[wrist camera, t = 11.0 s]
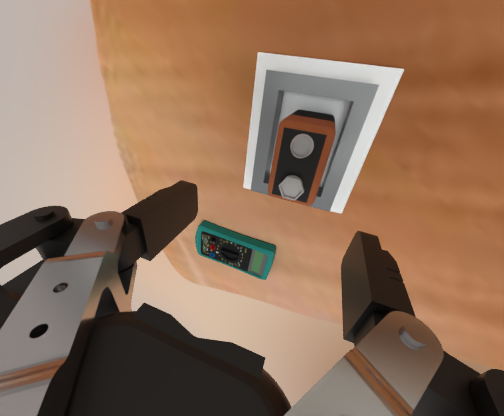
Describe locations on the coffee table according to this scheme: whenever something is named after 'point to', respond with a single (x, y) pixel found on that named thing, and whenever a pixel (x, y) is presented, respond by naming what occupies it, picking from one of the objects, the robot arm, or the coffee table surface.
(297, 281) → the coffee table surface
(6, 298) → the robot arm
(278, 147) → the battery
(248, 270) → the digital multimeter
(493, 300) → the coffee table surface
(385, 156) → the coffee table surface
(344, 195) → the charging cradle
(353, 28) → the coffee table surface
